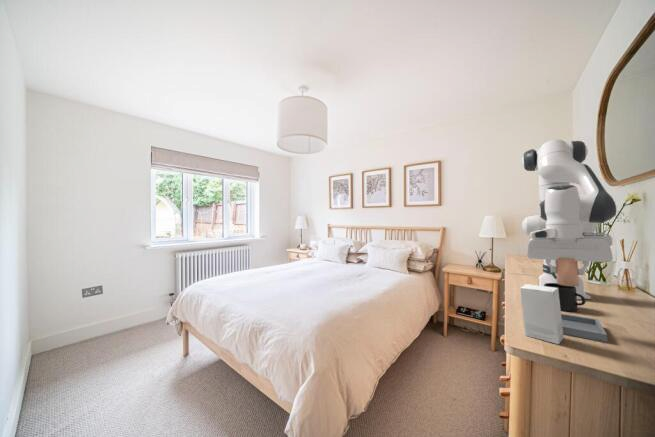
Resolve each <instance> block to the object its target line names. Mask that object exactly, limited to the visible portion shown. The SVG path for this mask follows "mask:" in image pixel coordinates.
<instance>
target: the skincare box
mask: <svg viewBox="0 0 655 437" xmlns="http://www.w3.org/2000/svg"><path fill="white" fill-rule="evenodd" d="M519 290H520V291H519V292H520V300H521V308H522V311H521V312H522V318H523V330H524V336H525V337H530V338H533V339H537V340H541V341H545V342H548V343H552V344H555V345H559V344H560V343H561V342H562V340H563V339H564V334H563V328H562V318H561V314H562V311H561V309H560V300H559V292H558V288H555V287H547V286H539V284H538V285H536V284H529V283H525V284H524V285H523V286H521V287H519Z"/></svg>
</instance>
